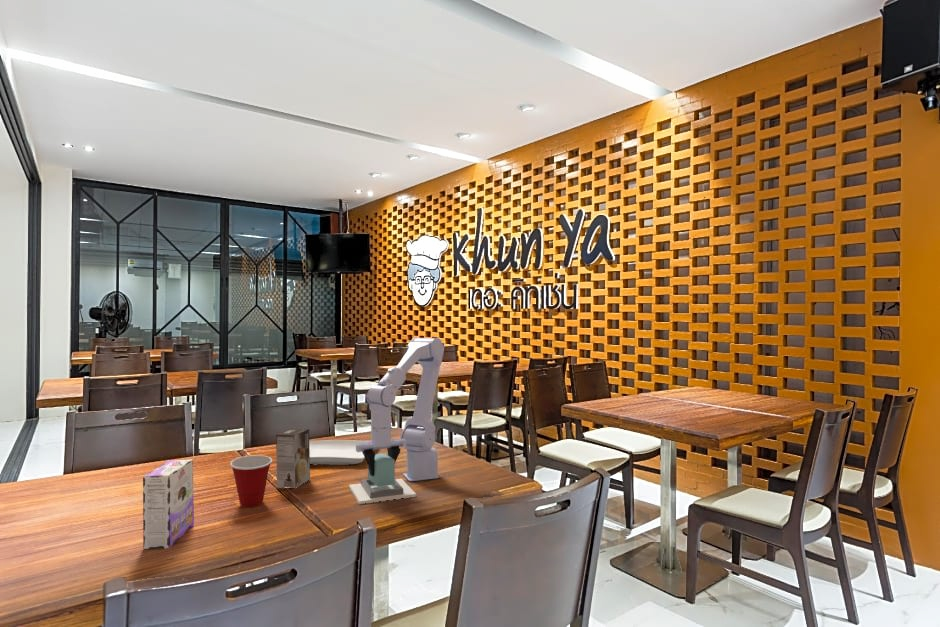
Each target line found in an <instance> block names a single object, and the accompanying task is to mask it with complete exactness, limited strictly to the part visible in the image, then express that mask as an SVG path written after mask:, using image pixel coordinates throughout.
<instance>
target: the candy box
mask: <svg viewBox="0 0 940 627" xmlns="http://www.w3.org/2000/svg"><path fill="white" fill-rule="evenodd" d="M194 505H195V504H194V460H193V459H192V458H191V459H172V460H171V459H170V460H169V459H168V460H167V461H166V462H164V463H163V464H161V465H160V466H158V467H157V468H155V469H152V471H150V472H148V473H147V474H145V475H143V476H142V513H143V514H142V517H143V518H142V519H143V520H142V522H143V524H142V527H143V529H142V532H143V534H142V535H143V536H142V537H143V538H142V540H143V541H142V542H143V544H142V545H143V547H142V549H143V550H157V549H159V550H165V549H166V550H167V548H168V549H169V548H171V547H172V546H173V545H174V544H175V543H177V542H178V540H179V539H180V538H182V537H183V536H184V535H185V534H186V533H187V532H188V531H189V530H190V529H191V528H192V527H193V526H194V525H195V511H194V510H195V509H194Z"/></svg>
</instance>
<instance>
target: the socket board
mask: <svg viewBox="0 0 940 627" xmlns="http://www.w3.org/2000/svg"><path fill="white" fill-rule="evenodd" d="M348 488H349V489H350V492H351V493H352V495H353V496H354V498H355V500H356V502H357V503H358V505H364V504H365V503H366V504H371V503H372V504H373V502H374V503H379V501H381V502H387V501H386V500H389V501H394V500H393V499H396V500H402V499H401V498H404V499H411V498H416V497H417V493H416V492H415V491H414V490H413V489H412V488H411V487H410V486H409V485H408V484H407V483H406V482H405V481H404V479H403V478H395V484H394V485H388V486H381V487H377V486H376V485H375V484H374V483H372V482H371V481H370V480H369V479H368V478H363V479H361V480H360V483H354V484H353V483H352V484H348ZM410 497H411V498H410ZM366 504H365V505H366Z"/></svg>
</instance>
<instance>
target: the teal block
mask: <svg viewBox="0 0 940 627" xmlns="http://www.w3.org/2000/svg"><path fill="white" fill-rule="evenodd" d="M374 454H375V459H374V476H371V475H370V472H369V468H368V467H367V479H369V480H370V481H371V482H372V483H374V484H375V485H376V486H377V487H381V486H388V485H394V484H395V479H396V476H395V475H396V474H395V473H396V472H395V471H396V470H395V468H396V467H395V466H396V462H395V460H394V459H393V458H391V457H389V456H388V454H387V453H374Z"/></svg>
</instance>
